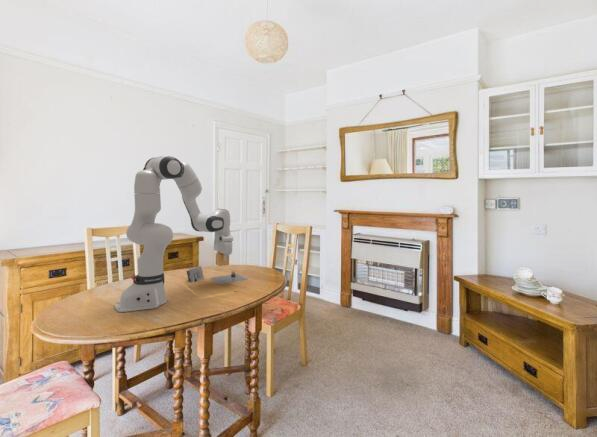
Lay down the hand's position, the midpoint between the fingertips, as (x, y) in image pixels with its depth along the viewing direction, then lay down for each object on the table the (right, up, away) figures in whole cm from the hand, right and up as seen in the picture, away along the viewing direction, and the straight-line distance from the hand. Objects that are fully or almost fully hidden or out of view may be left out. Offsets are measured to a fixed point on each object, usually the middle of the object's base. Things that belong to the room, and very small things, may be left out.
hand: (222, 260), depth 186 cm
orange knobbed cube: (0, -3, 0) cm, 3 cm away
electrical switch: (-17, -14, +3) cm, 22 cm away
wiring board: (+3, -14, +7) cm, 16 cm away
